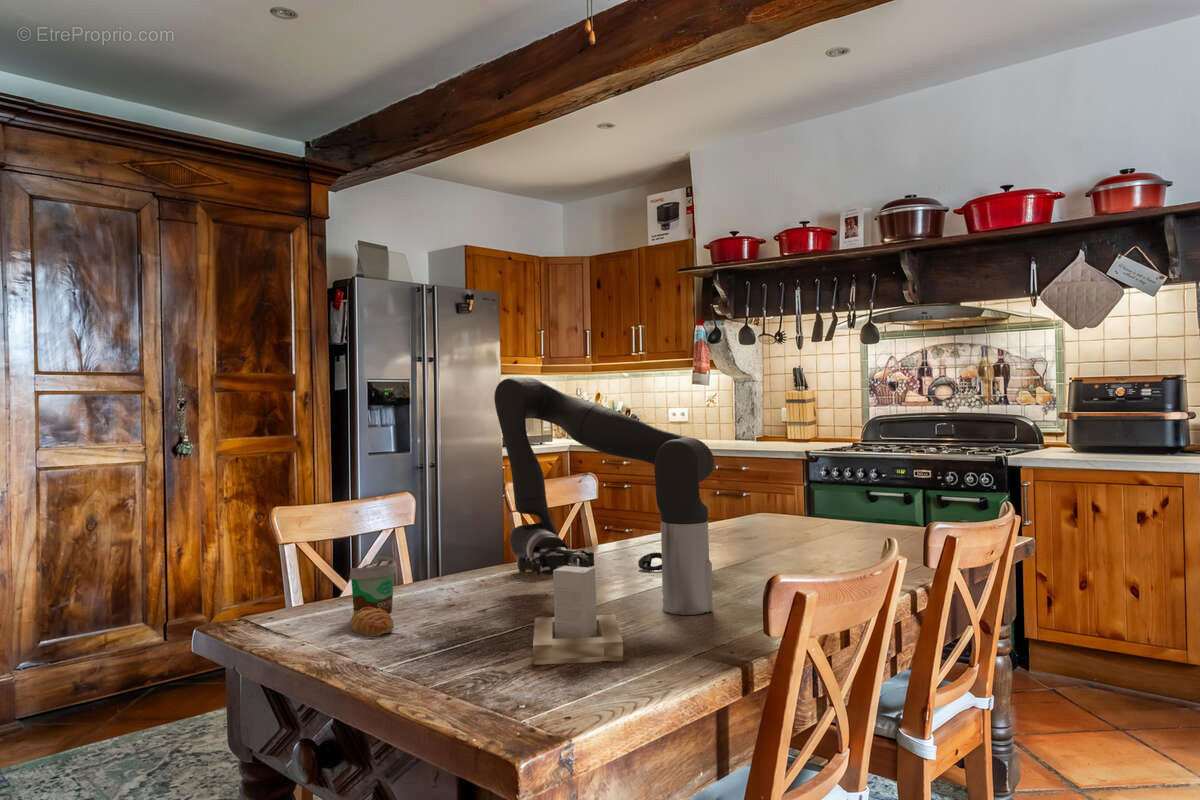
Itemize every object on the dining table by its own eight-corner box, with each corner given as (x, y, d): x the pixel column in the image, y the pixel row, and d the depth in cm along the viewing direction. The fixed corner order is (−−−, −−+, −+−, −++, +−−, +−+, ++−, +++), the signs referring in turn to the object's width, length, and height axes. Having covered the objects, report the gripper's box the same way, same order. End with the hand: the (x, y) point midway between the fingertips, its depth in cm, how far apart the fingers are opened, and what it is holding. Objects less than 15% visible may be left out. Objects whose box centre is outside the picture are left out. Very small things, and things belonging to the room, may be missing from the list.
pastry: (403, 633, 141) (402, 612, 141) (368, 641, 136) (367, 619, 136) (380, 623, 148) (379, 602, 148) (345, 630, 143) (345, 609, 143)
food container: (380, 622, 147) (379, 569, 148) (350, 621, 149) (349, 568, 149) (408, 605, 160) (407, 556, 160) (381, 604, 161) (380, 556, 161)
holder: (615, 631, 138) (614, 614, 138) (623, 661, 122) (622, 641, 122) (535, 634, 137) (535, 617, 137) (533, 664, 121) (532, 645, 121)
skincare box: (597, 639, 130) (596, 567, 130) (586, 646, 126) (585, 572, 126) (565, 635, 133) (564, 565, 133) (553, 642, 129) (552, 570, 129)
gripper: (510, 535, 155) (522, 549, 139) (581, 530, 158) (599, 543, 142) (512, 573, 155) (523, 591, 139) (582, 567, 158) (601, 584, 142)
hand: (562, 566), depth 141 cm, fingers open, 8 cm apart
